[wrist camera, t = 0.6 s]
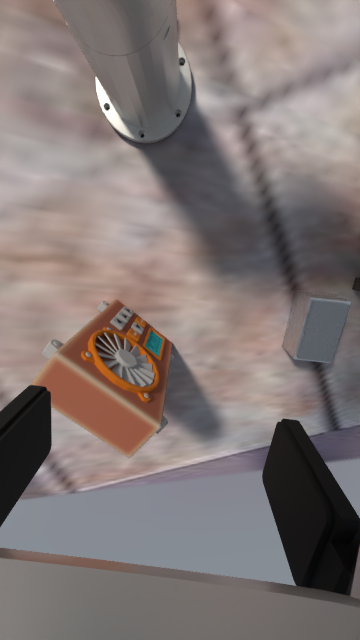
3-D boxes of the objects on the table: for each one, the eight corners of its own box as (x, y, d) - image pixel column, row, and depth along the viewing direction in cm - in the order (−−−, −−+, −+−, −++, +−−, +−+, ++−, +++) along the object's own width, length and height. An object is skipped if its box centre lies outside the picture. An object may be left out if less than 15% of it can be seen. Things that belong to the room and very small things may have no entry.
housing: (295, 289, 43) (312, 298, 37) (331, 293, 43) (353, 302, 37) (281, 345, 46) (295, 360, 40) (315, 349, 46) (333, 365, 40)
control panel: (112, 290, 43) (181, 344, 46) (89, 320, 45) (156, 370, 48) (46, 338, 23) (176, 430, 25) (8, 389, 24) (133, 471, 27)
